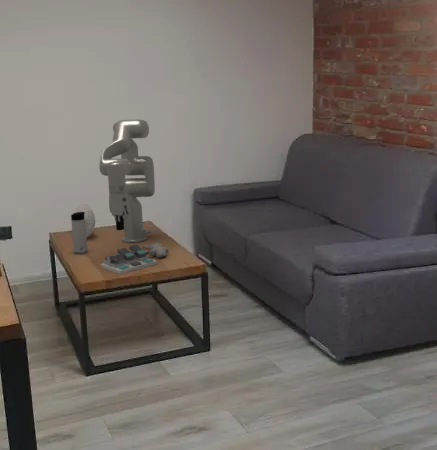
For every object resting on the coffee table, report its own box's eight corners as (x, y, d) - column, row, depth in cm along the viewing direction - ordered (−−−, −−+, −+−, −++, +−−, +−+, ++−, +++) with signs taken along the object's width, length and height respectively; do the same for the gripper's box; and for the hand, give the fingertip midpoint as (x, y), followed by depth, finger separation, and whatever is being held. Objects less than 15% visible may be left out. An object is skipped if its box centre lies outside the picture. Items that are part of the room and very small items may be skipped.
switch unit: (138, 257, 323) (137, 246, 321) (157, 263, 312) (156, 252, 310) (101, 267, 310) (100, 255, 309) (119, 274, 299) (118, 262, 298)
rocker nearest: (136, 247, 319) (136, 244, 319) (146, 255, 314) (146, 252, 314) (129, 249, 317) (129, 245, 316) (139, 257, 312) (139, 254, 311)
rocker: (113, 258, 311) (112, 254, 311) (122, 257, 305) (121, 253, 305) (105, 260, 309) (104, 256, 309) (114, 259, 303) (114, 255, 303)
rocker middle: (124, 250, 315) (124, 247, 315) (134, 258, 310) (134, 255, 309) (117, 252, 313) (117, 249, 312) (127, 260, 308) (127, 257, 307)
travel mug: (85, 254, 330) (81, 213, 326) (72, 254, 332) (68, 213, 327) (90, 250, 336) (86, 210, 332) (77, 250, 338) (73, 210, 333)
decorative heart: (74, 233, 370) (71, 202, 365) (94, 231, 372) (92, 200, 368) (77, 242, 353) (74, 209, 349) (98, 240, 355) (95, 207, 351)
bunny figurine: (153, 252, 316) (141, 241, 329) (153, 262, 318) (141, 251, 331) (172, 249, 320) (159, 238, 333) (172, 259, 322) (159, 248, 335)
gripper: (134, 190, 303) (136, 230, 308) (115, 186, 314) (118, 225, 319) (119, 192, 298) (122, 234, 303) (101, 188, 309) (104, 228, 314)
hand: (120, 229), depth 311 cm, fingers closed
